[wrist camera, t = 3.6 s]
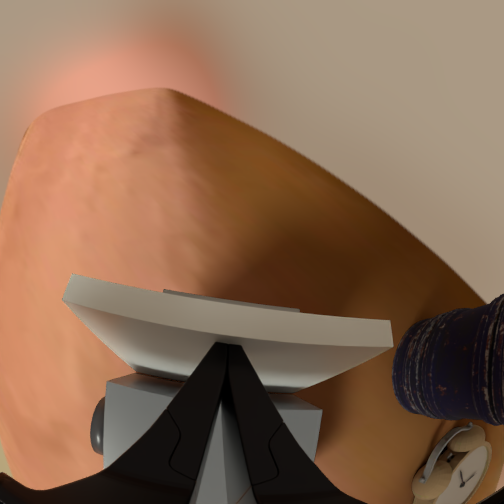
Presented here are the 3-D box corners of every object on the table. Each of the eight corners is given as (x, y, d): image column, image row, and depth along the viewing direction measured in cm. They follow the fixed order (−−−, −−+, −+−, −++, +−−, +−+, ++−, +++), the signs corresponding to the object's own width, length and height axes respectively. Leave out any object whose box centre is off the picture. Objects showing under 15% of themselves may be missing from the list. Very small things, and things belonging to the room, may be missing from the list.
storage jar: (377, 344, 21) (528, 314, 7) (443, 302, 23) (558, 253, 9) (405, 434, 18) (534, 458, 4) (465, 381, 21) (576, 367, 7)
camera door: (290, 394, 18) (393, 346, 8) (138, 373, 17) (61, 300, 7) (291, 371, 19) (387, 300, 9) (143, 350, 18) (80, 253, 8)
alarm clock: (434, 536, 11) (424, 493, 12) (412, 521, 16) (391, 473, 16) (492, 471, 14) (495, 403, 15) (468, 462, 19) (462, 397, 20)
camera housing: (279, 481, 16) (301, 516, 11) (115, 458, 15) (87, 487, 9) (293, 394, 19) (322, 409, 13) (120, 369, 18) (88, 375, 12)
